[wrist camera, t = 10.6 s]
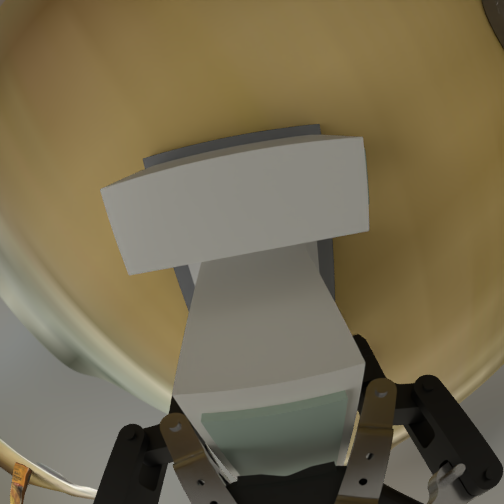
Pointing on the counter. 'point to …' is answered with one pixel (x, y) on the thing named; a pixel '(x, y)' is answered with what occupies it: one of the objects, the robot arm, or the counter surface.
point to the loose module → (268, 364)
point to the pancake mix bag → (19, 483)
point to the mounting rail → (241, 201)
